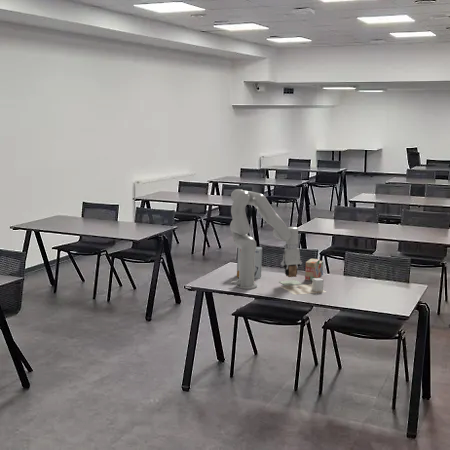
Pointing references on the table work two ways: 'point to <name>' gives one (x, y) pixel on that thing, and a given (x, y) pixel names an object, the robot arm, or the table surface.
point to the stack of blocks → (313, 269)
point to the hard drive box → (257, 262)
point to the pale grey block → (317, 284)
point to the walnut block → (292, 270)
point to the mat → (290, 282)
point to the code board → (300, 289)
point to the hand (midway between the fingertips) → (291, 274)
